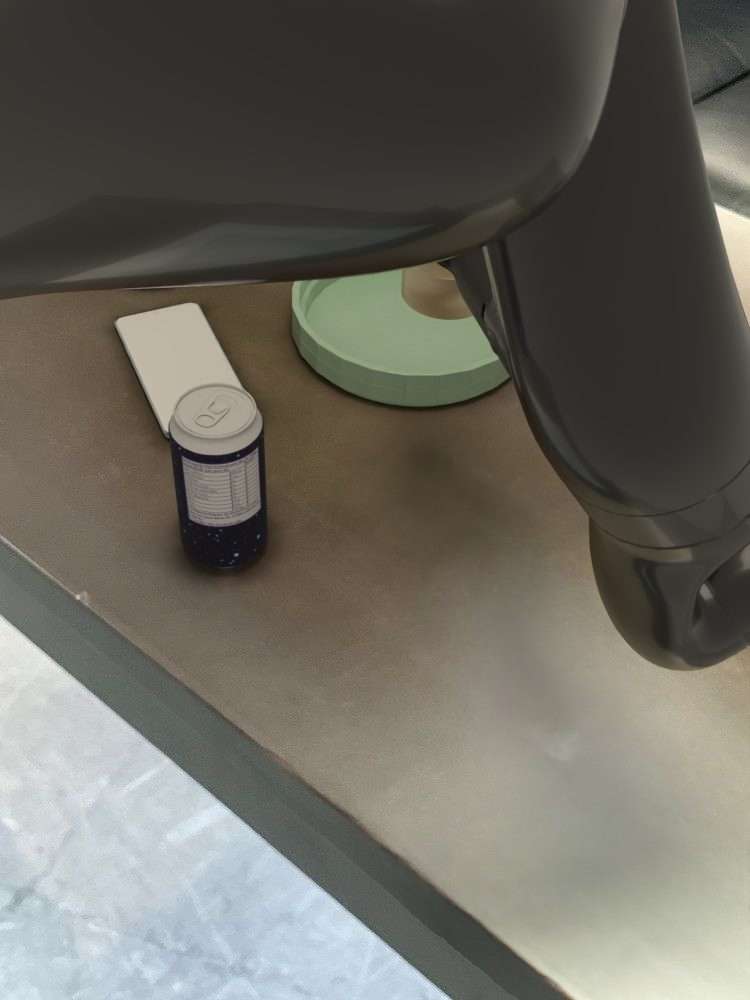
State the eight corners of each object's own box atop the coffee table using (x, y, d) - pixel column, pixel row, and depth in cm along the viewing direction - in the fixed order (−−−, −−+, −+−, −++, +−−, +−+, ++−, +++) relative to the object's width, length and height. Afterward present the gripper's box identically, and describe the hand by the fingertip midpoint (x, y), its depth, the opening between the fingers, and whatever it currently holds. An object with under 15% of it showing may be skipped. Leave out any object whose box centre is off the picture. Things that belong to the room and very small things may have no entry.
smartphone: (166, 437, 82) (112, 318, 92) (166, 442, 83) (113, 323, 92) (258, 414, 84) (196, 299, 94) (258, 419, 85) (196, 305, 94)
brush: (403, 320, 70) (421, 83, 59) (398, 267, 74) (414, 36, 63) (495, 320, 70) (528, 86, 59) (485, 268, 74) (515, 38, 63)
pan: (291, 410, 86) (291, 374, 83) (292, 263, 99) (292, 228, 97) (545, 411, 87) (552, 375, 85) (512, 265, 100) (517, 230, 98)
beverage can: (284, 535, 77) (281, 400, 69) (235, 590, 74) (226, 455, 65) (215, 502, 79) (204, 366, 70) (164, 554, 76) (146, 418, 67)
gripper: (705, 223, 55) (560, 64, 66) (431, 263, 52) (327, 88, 63) (670, 347, 60) (541, 180, 72) (419, 391, 57) (325, 208, 68)
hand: (441, 138), depth 67 cm, fingers closed on brush, 2 cm apart
